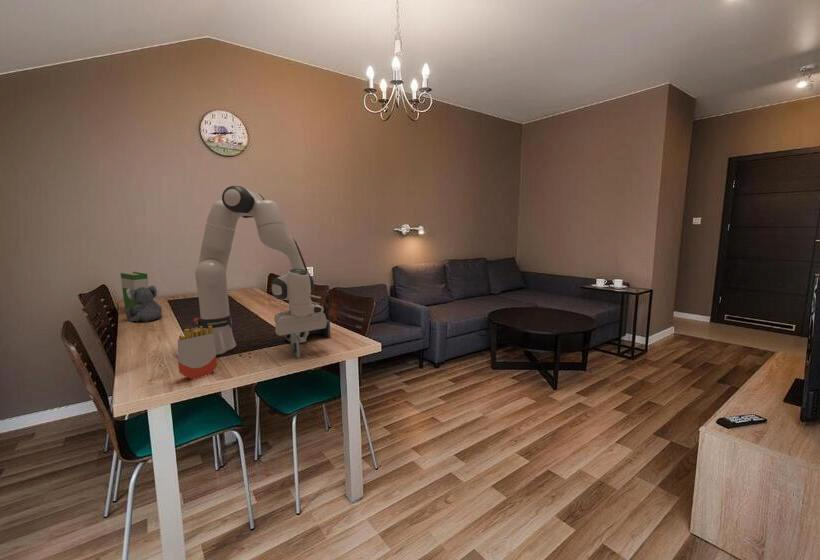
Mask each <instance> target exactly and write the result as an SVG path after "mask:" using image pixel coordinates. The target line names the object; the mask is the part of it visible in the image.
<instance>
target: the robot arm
mask: <svg viewBox="0 0 820 560" xmlns="http://www.w3.org/2000/svg"><path fill="white" fill-rule="evenodd" d="M240 218H244V219H249V218H253V219H254V222H255V225H256V229H257V230H256V231H257V234H258V237H259V240H260V242H261V243H262V244H263V245H264V246H266V247H267V248H269V249H273V250H276V251H279V252H281V253H283V254H284V255H286V256H287V258H288V260H289V263H290V265H291V269H289V270H288V271H287V273H285V274H283V275H281V276H278V277H275V278H274V279H273V280H272V282H271V284H270V291H271V295H272V296H273V297H274V298H275V299H276V300H281V301H282V300H283V301H284V300H288V310H289V311H287V310H285V311H279V312H277V313H276V314H275V315H273V316H274V323H275V325H274V326H275V330H274V332H275V334H276V335H277V336H280V337H281V336H285V335H288V334H294V333H295V334H296V336H297V337H298V339H299V344H301V343H306V342H307V337H308V336H309V335H308V334H309V331H311V330H317V329H323V328H325V327H326V326H327V323H326V319H327V316H326V314H325V312H324V307H323V306H322V305H319V304H316V303H312V299H311V294H312V293H313V290H314V287H315V281H314V279H313V277H312V276H311V274H310V273H309V270H308V268H307V265H306V263H305V262H306V261H305V260H304V257H303V254H302V252H301V249H300V247H299V245H298V244H297V243H298V242H297V241H296V240H295V238H294V237H292V236H291V235H290V233H289V232H288V230H287V227H286V223H285V220H284V216H283V213H282V211H281V209H280V206H279V205H278V203H277V202H276V201H274V200H271V199H265V198H264V197H263V196H262V195H261V194H260V193H258V192H256V191H254V190H252V189H250V188H245V187H243V186H242V185H230V186H228V187H226V188H225V189H224V191H223V192H222V194H221V200H219V199H218V200H216V201H214V202H213V203H212V206H211V208H210V210H209V213H208V216H207V218H206V224H205V228H204V232H203V236H202V242H201V246H200V247H201V248H200V252H199V253H200V255H199V259H198V263H197V266H196V268H195V271H194V276H195V282H196V283H195V284H196V290H197V297H198V304H199V305H198V306H199V315H200V317H195V318H193V322H194V324H195V328H194V331H199V330H200V326H202V327H203V329H204V328H206V329H207V333H208V326H212V331H213V333H214V340H215V351H216V356H217V355H222V354H224V353H227V352H228V351H230V350H233V349H234V348H235V347H237V343H236V341H235V338H234V333H233V330H232V326H233V323H232V322H233V321H232V316H231V314H230V305H229V294H228V293H229V292H228V281H227V269H228V264H229V259H230V256H231V250H232V247H233V242H234V238H235V237H234V236H235V233H236V228H237V223H238V220H239V219H240ZM300 332H304V333H305V334H304V336H299V335H300ZM190 333H191V331H190ZM190 337H191V335H190ZM184 339H185V336H184ZM176 357H177V358H178V349H177V350H176Z"/></svg>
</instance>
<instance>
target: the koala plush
mask: <svg viewBox="0 0 820 560" xmlns="http://www.w3.org/2000/svg"><path fill="white" fill-rule="evenodd" d="M159 291H160V289H159V287H158V286H157V285H155V284H153V285H150V286H149V287H148V288H146V287H139V288H138V289H136V290H135V289H127V290H126V293H127V295H128V298H130V299H131V300H134V301H135V302H136V303H137V304H138V305H135V306H134V308H133V309H132V308H128V309H127V310H125V309H124V311H125V316H126V319H127V320H128V319H129V320H128V321H130V320H131V321H130V322H132V321H136V322H135V323H140V322H139V321H142V322H144V323H149V322H154V321H155V319H156V320H160V319H162V317H163V314H162V311H163V310H162V306H161V305H160V304H159V303H158V302H157V301H156V300H154V298H156V297H157V296H158V295H159ZM159 318H160V319H159ZM153 320H154V321H153ZM148 321H149V322H148Z"/></svg>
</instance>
